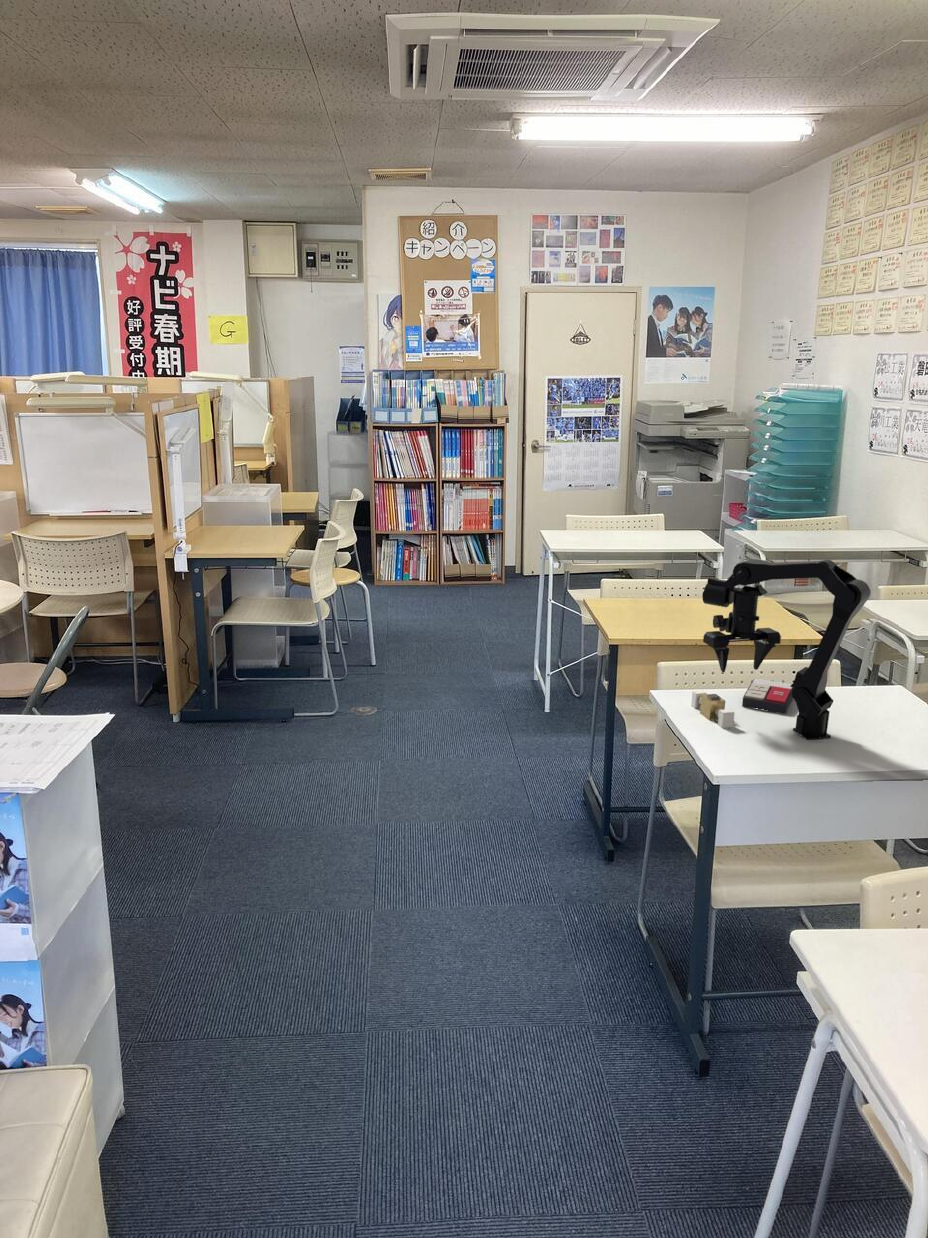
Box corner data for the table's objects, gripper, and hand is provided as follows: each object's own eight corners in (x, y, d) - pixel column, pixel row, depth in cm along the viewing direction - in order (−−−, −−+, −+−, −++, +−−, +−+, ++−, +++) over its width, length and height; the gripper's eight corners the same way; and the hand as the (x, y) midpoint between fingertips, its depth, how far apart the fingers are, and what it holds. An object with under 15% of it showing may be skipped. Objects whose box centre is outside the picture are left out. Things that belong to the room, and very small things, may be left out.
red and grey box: (742, 695, 240) (753, 676, 253) (741, 710, 241) (752, 690, 254) (786, 702, 235) (795, 682, 248) (785, 717, 237) (793, 697, 249)
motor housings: (701, 704, 242) (703, 690, 241) (732, 727, 227) (734, 711, 226) (691, 705, 241) (692, 691, 240) (721, 728, 226) (723, 712, 225)
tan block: (714, 712, 237) (715, 691, 235) (723, 719, 232) (725, 698, 231) (699, 713, 236) (701, 692, 234) (709, 720, 231) (711, 699, 230)
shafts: (704, 707, 240) (705, 695, 239) (727, 724, 229) (728, 711, 228) (696, 708, 239) (697, 695, 238) (719, 725, 228) (720, 712, 227)
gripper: (760, 601, 238) (754, 658, 242) (694, 604, 233) (690, 663, 237) (785, 611, 228) (778, 671, 232) (717, 615, 223) (712, 676, 227)
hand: (739, 670), depth 232 cm, fingers open, 9 cm apart
